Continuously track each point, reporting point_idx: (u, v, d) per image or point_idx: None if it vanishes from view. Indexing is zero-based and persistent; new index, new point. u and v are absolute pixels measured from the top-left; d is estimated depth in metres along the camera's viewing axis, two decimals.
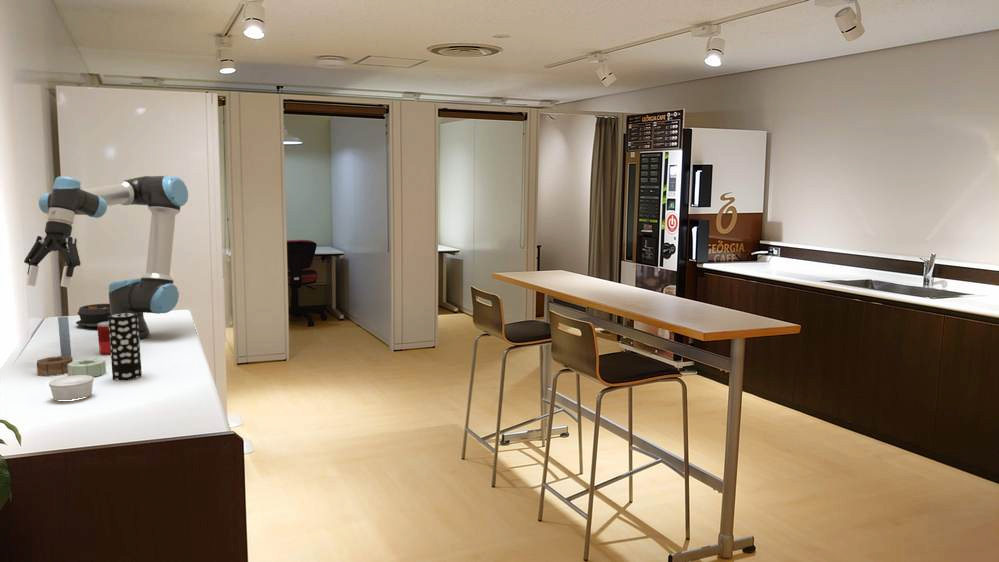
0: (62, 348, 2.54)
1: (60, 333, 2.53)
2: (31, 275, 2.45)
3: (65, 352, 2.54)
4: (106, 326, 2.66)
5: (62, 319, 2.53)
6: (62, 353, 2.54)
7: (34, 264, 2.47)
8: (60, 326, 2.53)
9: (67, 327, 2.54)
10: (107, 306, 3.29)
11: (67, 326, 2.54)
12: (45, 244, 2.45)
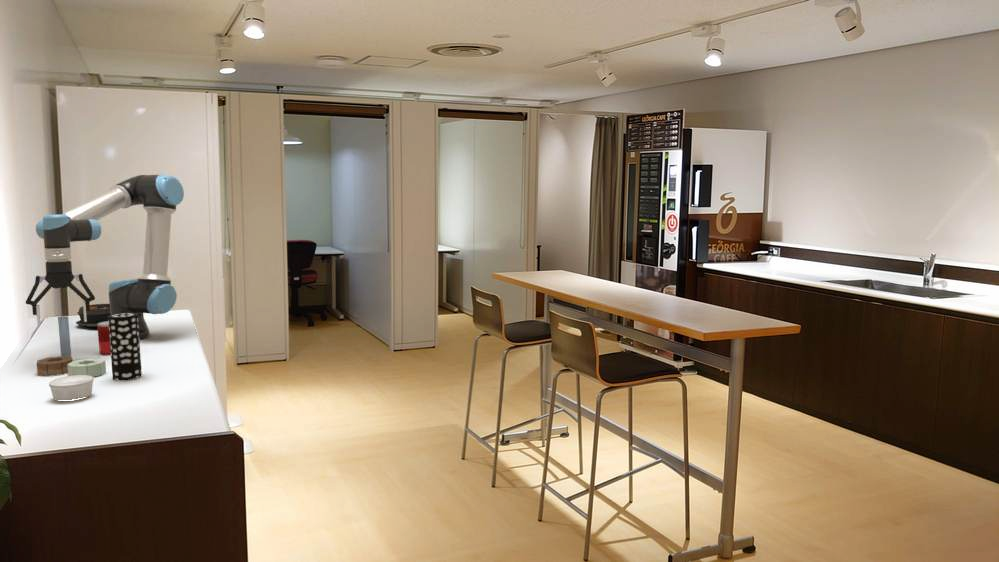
0: (62, 348, 2.54)
1: (60, 333, 2.53)
2: (39, 315, 2.50)
3: (65, 352, 2.54)
4: (106, 326, 2.66)
5: (62, 319, 2.53)
6: (62, 353, 2.54)
7: None
8: (60, 326, 2.53)
9: (67, 327, 2.54)
10: (107, 306, 3.29)
11: (67, 326, 2.54)
12: (51, 284, 2.50)
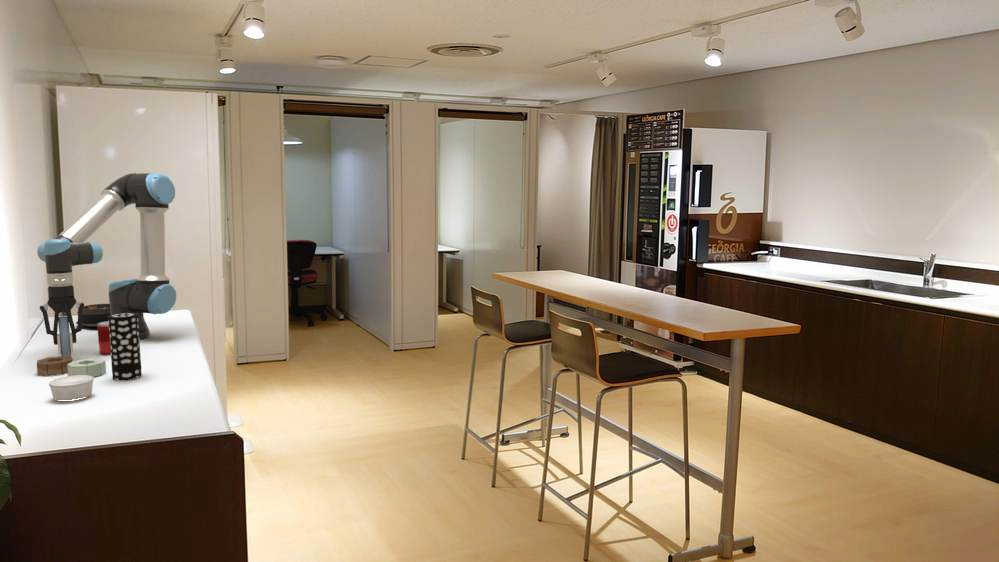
0: (62, 348, 2.54)
1: (60, 333, 2.53)
2: None
3: (66, 352, 2.54)
4: (106, 326, 2.66)
5: (62, 319, 2.53)
6: (62, 353, 2.54)
7: None
8: (60, 326, 2.53)
9: (67, 327, 2.54)
10: (107, 306, 3.29)
11: (67, 326, 2.54)
12: (57, 309, 2.51)
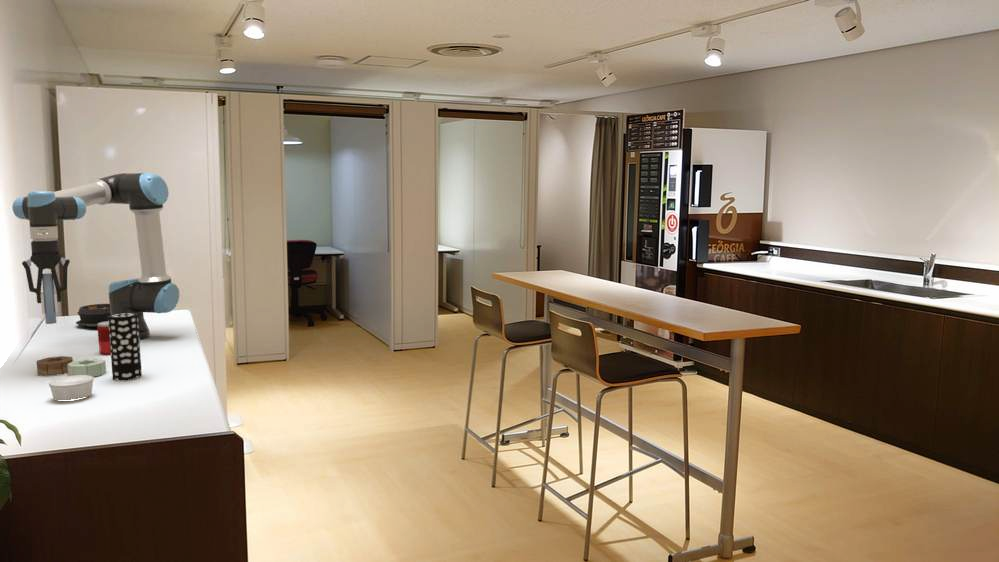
0: (46, 307, 2.40)
1: (43, 291, 2.39)
2: None
3: (50, 311, 2.40)
4: (106, 326, 2.66)
5: (46, 276, 2.39)
6: (46, 312, 2.40)
7: None
8: (44, 284, 2.39)
9: (51, 284, 2.40)
10: (107, 306, 3.29)
11: (51, 283, 2.40)
12: (41, 265, 2.37)
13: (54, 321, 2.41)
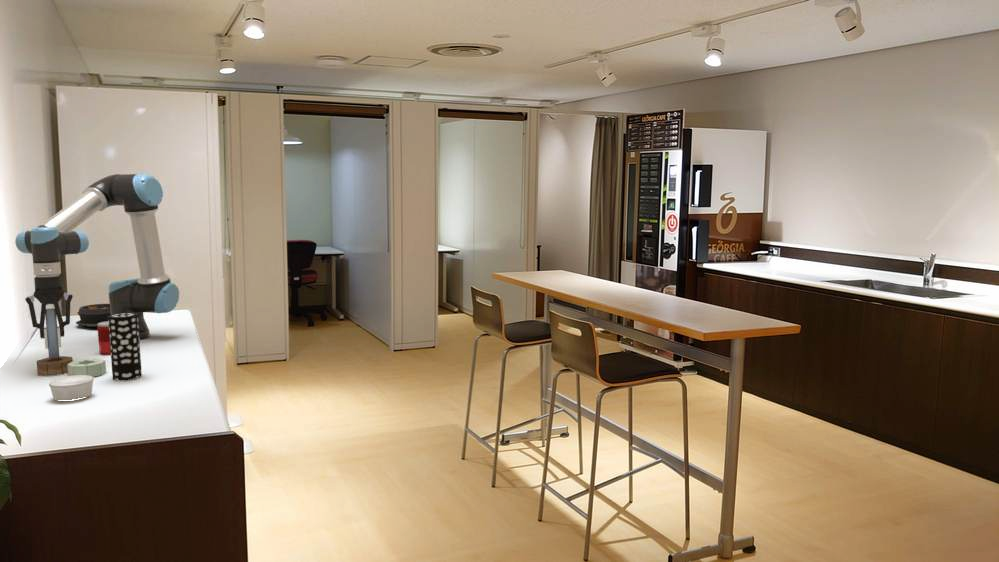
0: (49, 342, 2.41)
1: (47, 326, 2.41)
2: None
3: (53, 346, 2.42)
4: (106, 326, 2.66)
5: (49, 311, 2.40)
6: (49, 347, 2.42)
7: None
8: (47, 319, 2.40)
9: (54, 319, 2.41)
10: (107, 306, 3.29)
11: (55, 319, 2.41)
12: (44, 301, 2.39)
13: (57, 356, 2.43)
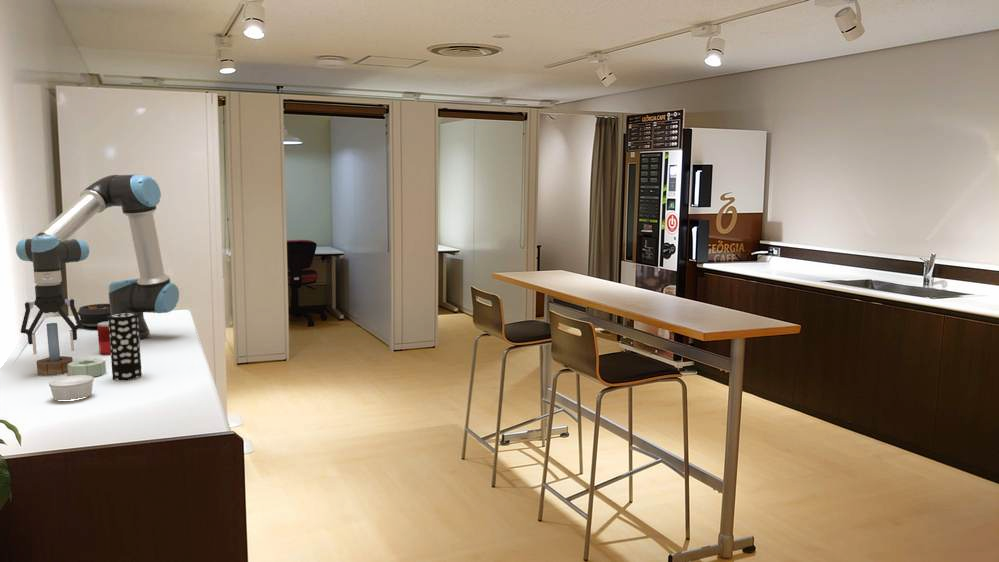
0: (51, 356, 2.42)
1: (48, 340, 2.41)
2: (35, 344, 2.40)
3: (54, 360, 2.42)
4: (106, 326, 2.66)
5: (51, 326, 2.41)
6: (51, 361, 2.42)
7: None
8: (49, 333, 2.41)
9: (55, 334, 2.42)
10: (107, 306, 3.29)
11: (56, 333, 2.42)
12: (42, 309, 2.39)
13: None
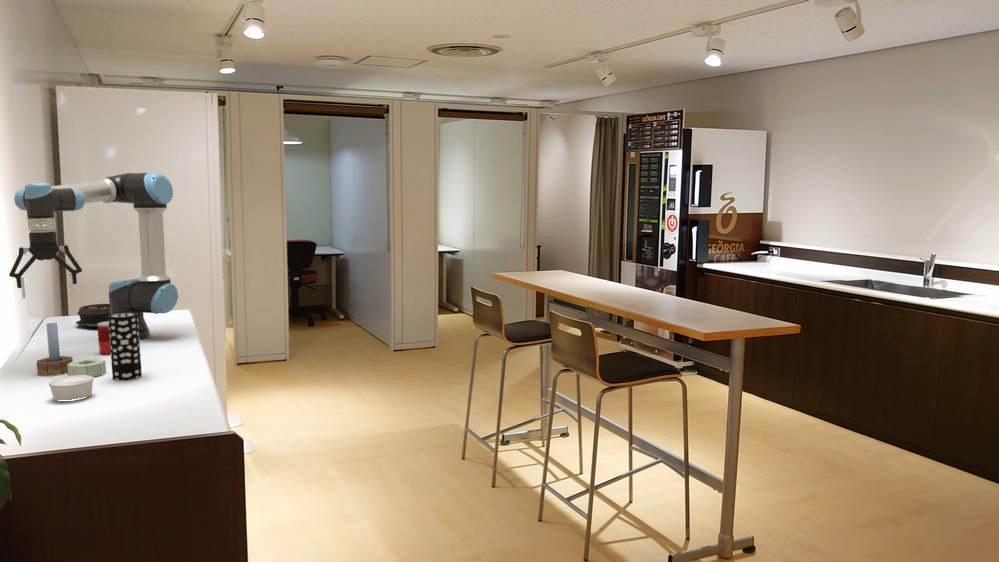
0: (51, 356, 2.42)
1: (48, 340, 2.41)
2: (24, 288, 2.40)
3: (54, 360, 2.42)
4: (106, 326, 2.66)
5: (51, 326, 2.41)
6: (51, 361, 2.42)
7: (20, 276, 2.40)
8: (49, 333, 2.41)
9: (55, 334, 2.42)
10: (107, 306, 3.29)
11: (56, 333, 2.42)
12: (36, 256, 2.40)
13: None
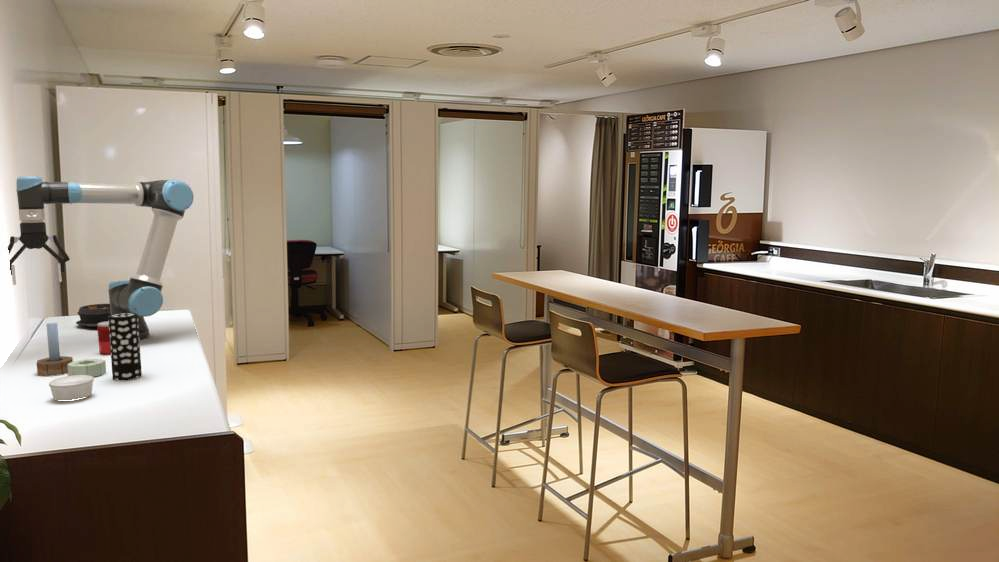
0: (51, 356, 2.42)
1: (48, 340, 2.41)
2: (14, 275, 2.55)
3: (54, 360, 2.42)
4: (106, 326, 2.66)
5: (51, 326, 2.41)
6: (51, 361, 2.42)
7: (11, 263, 2.55)
8: (49, 333, 2.41)
9: (55, 334, 2.42)
10: (107, 306, 3.29)
11: (56, 333, 2.42)
12: (26, 244, 2.55)
13: None
